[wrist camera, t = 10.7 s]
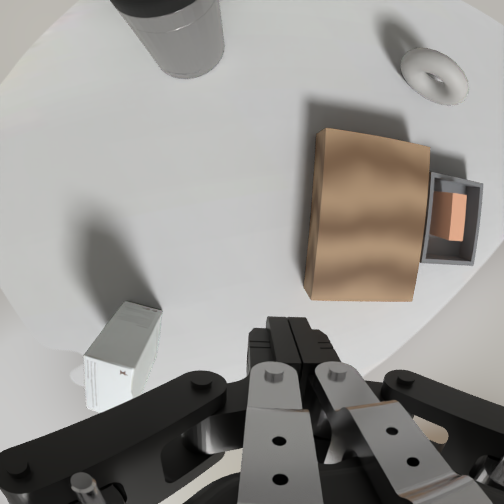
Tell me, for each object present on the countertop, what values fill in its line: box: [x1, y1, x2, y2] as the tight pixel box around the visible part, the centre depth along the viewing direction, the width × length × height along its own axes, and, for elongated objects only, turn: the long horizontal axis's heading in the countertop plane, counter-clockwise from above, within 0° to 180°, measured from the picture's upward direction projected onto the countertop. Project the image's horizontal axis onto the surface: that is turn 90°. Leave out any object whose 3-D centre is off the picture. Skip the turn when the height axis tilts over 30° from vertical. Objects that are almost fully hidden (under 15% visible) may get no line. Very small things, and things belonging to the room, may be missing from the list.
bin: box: [419, 172, 483, 266], centre depth 39 cm, size 12×10×4 cm
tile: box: [429, 191, 467, 241], centre depth 37 cm, size 6×6×2 cm
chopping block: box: [304, 128, 430, 302], centre depth 38 cm, size 20×14×5 cm
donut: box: [401, 48, 469, 106], centre depth 32 cm, size 10×4×10 cm, turn 60°
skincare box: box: [83, 301, 163, 413], centre depth 36 cm, size 8×6×15 cm
